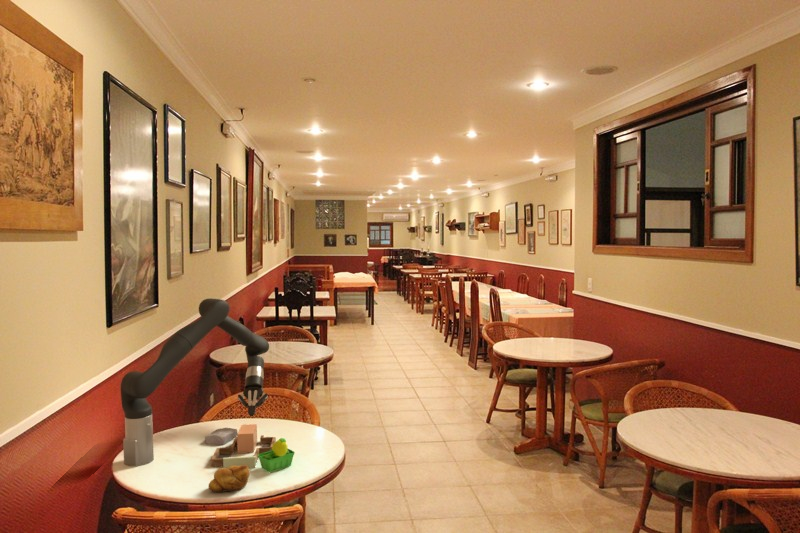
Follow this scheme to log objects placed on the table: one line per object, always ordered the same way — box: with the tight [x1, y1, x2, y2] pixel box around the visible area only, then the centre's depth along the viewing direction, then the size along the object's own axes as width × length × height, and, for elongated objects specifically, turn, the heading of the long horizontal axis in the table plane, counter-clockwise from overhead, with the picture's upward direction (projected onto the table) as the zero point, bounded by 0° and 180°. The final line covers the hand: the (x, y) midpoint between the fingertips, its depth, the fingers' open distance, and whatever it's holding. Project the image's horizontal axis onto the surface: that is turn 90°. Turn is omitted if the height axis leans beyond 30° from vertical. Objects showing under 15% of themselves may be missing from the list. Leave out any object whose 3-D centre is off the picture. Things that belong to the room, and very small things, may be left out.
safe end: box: [222, 455, 256, 469], centre depth 204 cm, size 1×11×4 cm, turn 97°
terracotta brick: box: [236, 423, 258, 454], centre depth 224 cm, size 11×6×8 cm, turn 7°
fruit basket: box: [258, 437, 295, 473], centre depth 204 cm, size 11×9×11 cm
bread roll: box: [208, 465, 250, 493], centre depth 188 cm, size 13×10×8 cm
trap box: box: [210, 434, 277, 468], centre depth 217 cm, size 26×21×2 cm
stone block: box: [204, 427, 238, 446], centre depth 233 cm, size 12×5×10 cm
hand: (251, 415), depth 237 cm, fingers closed
